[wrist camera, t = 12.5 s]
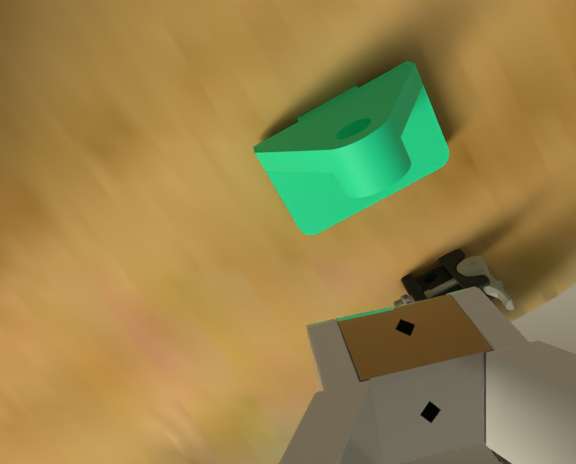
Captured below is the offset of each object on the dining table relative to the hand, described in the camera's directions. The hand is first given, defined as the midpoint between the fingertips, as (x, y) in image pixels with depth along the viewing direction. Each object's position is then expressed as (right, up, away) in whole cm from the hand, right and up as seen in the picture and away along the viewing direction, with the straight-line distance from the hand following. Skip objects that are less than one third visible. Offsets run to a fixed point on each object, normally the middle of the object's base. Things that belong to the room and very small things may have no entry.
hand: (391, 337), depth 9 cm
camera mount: (+3, +8, +29) cm, 30 cm away
